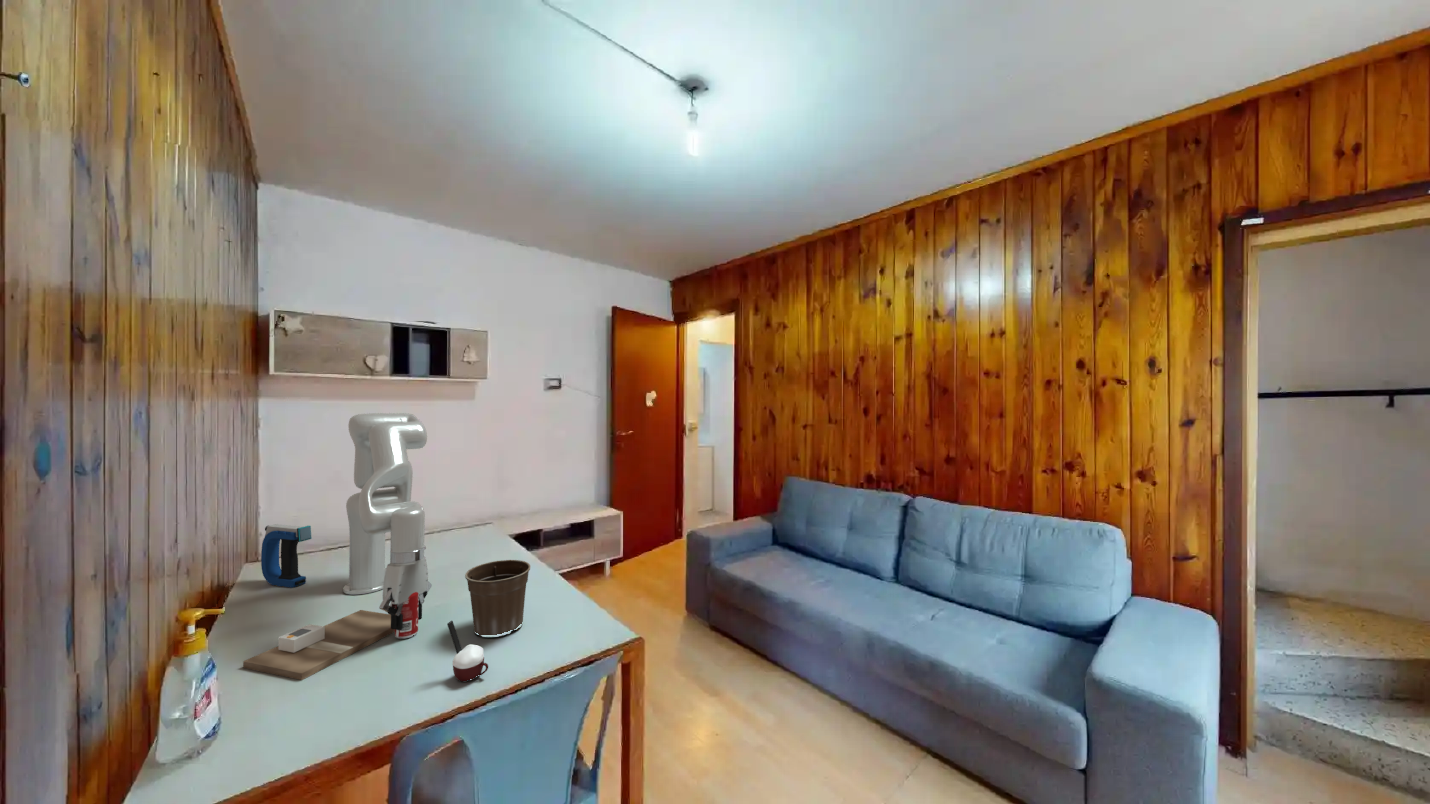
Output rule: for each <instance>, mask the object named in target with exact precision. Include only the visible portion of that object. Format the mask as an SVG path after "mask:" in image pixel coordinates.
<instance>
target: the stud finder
mask: <svg viewBox="0 0 1430 804" xmlns="http://www.w3.org/2000/svg"><path fill="white" fill-rule="evenodd" d="M324 626H325V625H323V626H322V625H318V624H317V625H316V624H312V623H309V624H307V625H304V626H302V627H299V628H297V629H295V630H292V631H290V632H287V633H285V634H283V635H281V636H278V640H277V641H278V650H283V651H288V652H293V653H294V652H297V651H299V650H301V649H303V648H305V647H307V646H310V645H312V644H314V643H316V642H318V641H320V640H322V639H325V627H324Z"/></svg>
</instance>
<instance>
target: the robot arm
mask: <svg viewBox="0 0 1430 804" xmlns="http://www.w3.org/2000/svg"><path fill="white" fill-rule="evenodd" d="M347 426H348V432H349V436H350V438H351V440H352V443H353V444H354V465H353V481H354V486H355V487H356V488H358V489H360V490H361V491H360V492H357V493H354V494H352V495H351V496H349V497H348V499H347V500H346V503H345V504H346V506H345V508H346V515H347V519H348V530H349V533H348V534H349V547H348V548H349V553H348V554H349V559H348V560H349V561H348V562H349V564H348V567H349V568H348V574H349V575H348V580H349V581H348V583H347V584H345V585H344V587H343V588H342V592H343V593H344V594H346V595H352V596H353V595H365V594H371V593H374V592H375V593H376V592H378V591H381V590H382V601H381V603H380V605H379V606H378V609H379V610H381V611H384V612H386V614H390V615H391V629H395V630H401V629H402V628H403V614H401V610H402V606H403V602H405V601H407V600H408V598H409V596H410V595H411V594H412V593H414V592H418V594H419V604H418V621H419V620H422V619H423V604H424V603H425V599H426V597H427V595H428V593H429V591H430V590H431V589H432V587H433V585H432V583H431V582H430V581H429V571H428V564H427V558H426V556H425V550H426V549H427V547H426V545H425V521H426V518H425V517H426V516H425V515H426V514H425V510H424V507H423V505H422V504H420V503H419V502H418V501H413V500H412V487H413V466H412V463H411V461H410V460H409V456H408V452H407V450H416V449H418V450H420V449H423V448H424V447H425V446H426V444H427V442H428V441H427V440H428V433H427V430H426V427H425V425H424V423H423V422H422V421H421V420H420V419H419V418H418V417H417V416H415V415H414V414H412V413H406V412H403V413H402V412H399V413H398V412H396V413H392V412H391V413H390V412H389V413H386V412H385V413H383V412H382V413H381V412H380V413H379V412H378V413H376V412H375V413H370V412H369V413H358V414H355V415H353V416H351V417H350V419H349V420H348V425H347ZM384 488H386V489H384ZM386 533H390V552H389V553H390V555H389V558H390V559H389V561H390V562H389V563H388V564H387V566H386ZM396 605H397V608H396V609H395V606H396Z"/></svg>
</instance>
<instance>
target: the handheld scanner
mask: <svg viewBox="0 0 1430 804" xmlns="http://www.w3.org/2000/svg"><path fill="white" fill-rule="evenodd" d="M264 531H265V535H264V538H263V540H262V544H261V553H260V555H261V556H260V559H261V561H260V562H261V563H260V565H261V572H262V576H263V578H264V580H265V581H266V582H267V583H268V584H269V585H272V586H274V585H277V586H276V587H282V586H284V588H290V589H291V588H293V587H294V588H296V586H297V587H299V586H301V584H302V585H305V584H306V582H307V577H306V575H305V576H304V575H301V574H300V572H299V557H298V544H299V543H301V542H305V541H309V540H312V526H311V525H305V526H296V525H286V524H278V523H277V524H270V525H266V526H265V527H264ZM298 585H299V586H298ZM294 588H293V589H294Z"/></svg>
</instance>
